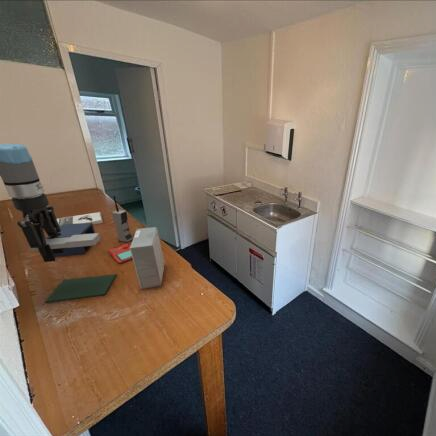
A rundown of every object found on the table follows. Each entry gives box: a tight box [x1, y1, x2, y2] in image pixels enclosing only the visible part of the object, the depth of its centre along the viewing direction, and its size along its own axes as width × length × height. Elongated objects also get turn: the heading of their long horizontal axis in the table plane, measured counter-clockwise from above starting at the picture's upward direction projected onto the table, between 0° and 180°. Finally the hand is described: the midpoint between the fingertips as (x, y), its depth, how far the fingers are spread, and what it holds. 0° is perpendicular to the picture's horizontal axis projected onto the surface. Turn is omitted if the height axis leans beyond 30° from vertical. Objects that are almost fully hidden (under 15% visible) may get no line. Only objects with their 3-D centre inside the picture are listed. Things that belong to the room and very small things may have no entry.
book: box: [55, 211, 104, 229], centre depth 136 cm, size 23×14×2 cm, turn 130°
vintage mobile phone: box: [111, 195, 134, 243], centre depth 119 cm, size 4×5×25 cm
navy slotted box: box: [45, 223, 96, 258], centre depth 112 cm, size 12×14×10 cm
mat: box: [44, 273, 118, 304], centre depth 91 cm, size 18×12×1 cm, turn 107°
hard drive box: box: [130, 226, 166, 290], centre depth 96 cm, size 16×8×20 cm, turn 22°
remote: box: [28, 232, 101, 252], centre depth 82 cm, size 18×5×2 cm, turn 107°
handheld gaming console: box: [107, 242, 133, 265], centre depth 112 cm, size 9×1×15 cm
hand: (54, 256), depth 83 cm, fingers closed on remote, 5 cm apart
